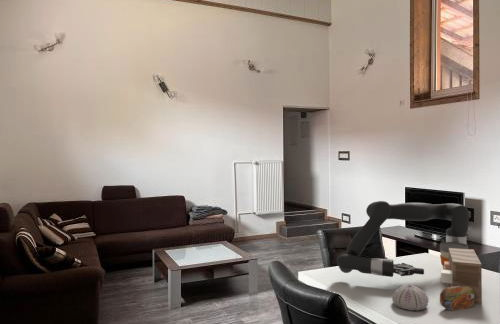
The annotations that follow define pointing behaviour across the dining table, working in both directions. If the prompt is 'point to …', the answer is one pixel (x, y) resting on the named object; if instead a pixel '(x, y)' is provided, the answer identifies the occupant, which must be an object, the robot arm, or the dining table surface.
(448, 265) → the terracotta key
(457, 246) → the reusable coffee cup
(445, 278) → the cream key
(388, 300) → the dining table surface
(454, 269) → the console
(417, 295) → the sea urchin shell
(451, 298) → the tin
